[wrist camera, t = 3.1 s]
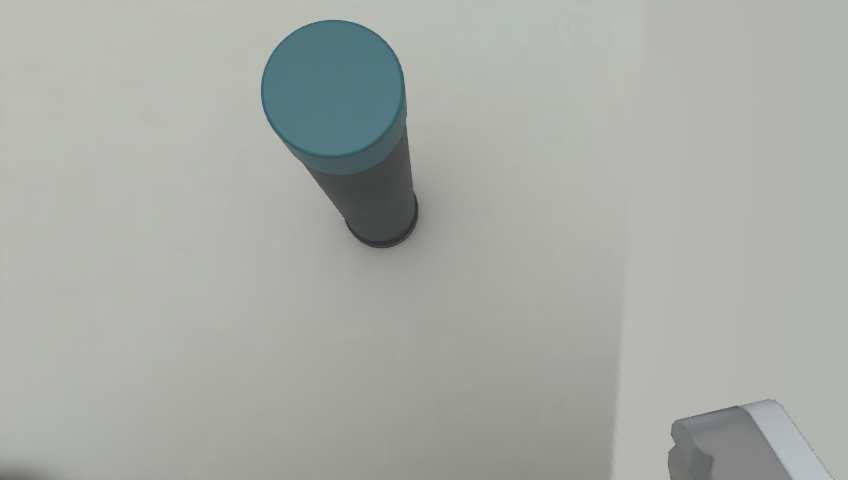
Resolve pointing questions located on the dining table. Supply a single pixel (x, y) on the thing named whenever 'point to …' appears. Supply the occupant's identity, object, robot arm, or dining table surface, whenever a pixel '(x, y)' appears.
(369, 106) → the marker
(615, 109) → the dining table surface
